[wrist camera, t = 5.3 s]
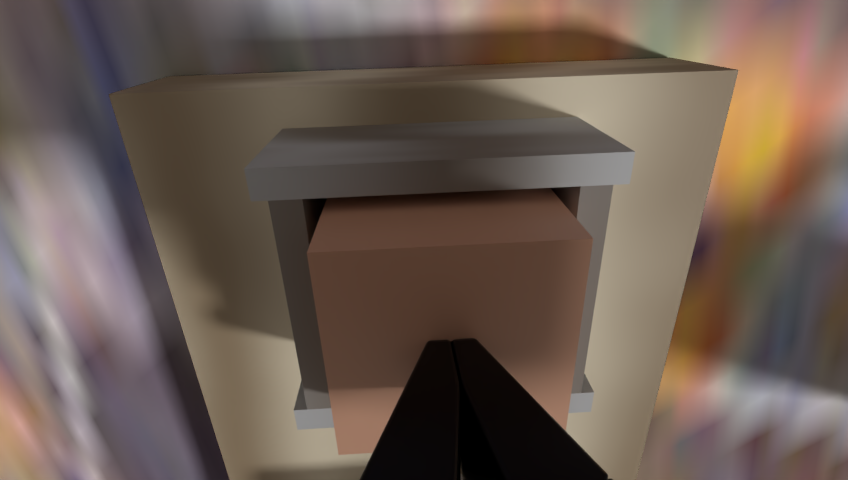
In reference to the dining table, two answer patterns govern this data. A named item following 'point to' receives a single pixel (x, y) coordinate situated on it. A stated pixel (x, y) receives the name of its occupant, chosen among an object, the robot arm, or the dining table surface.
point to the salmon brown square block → (445, 294)
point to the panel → (417, 174)
